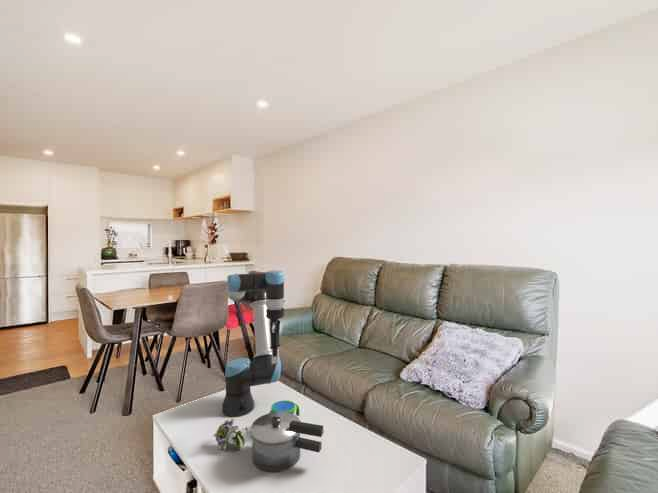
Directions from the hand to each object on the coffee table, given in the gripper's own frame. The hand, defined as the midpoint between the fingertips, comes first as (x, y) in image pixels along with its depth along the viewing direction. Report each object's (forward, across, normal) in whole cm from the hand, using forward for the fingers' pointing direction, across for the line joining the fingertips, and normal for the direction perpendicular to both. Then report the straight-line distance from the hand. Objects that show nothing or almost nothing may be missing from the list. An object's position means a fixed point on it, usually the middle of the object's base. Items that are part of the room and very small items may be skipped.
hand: (275, 362), depth 141 cm
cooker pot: (+30, -17, -6) cm, 35 cm away
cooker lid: (+20, -17, -6) cm, 27 cm away
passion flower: (+31, -8, +17) cm, 36 cm away
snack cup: (+31, +2, -3) cm, 31 cm away
